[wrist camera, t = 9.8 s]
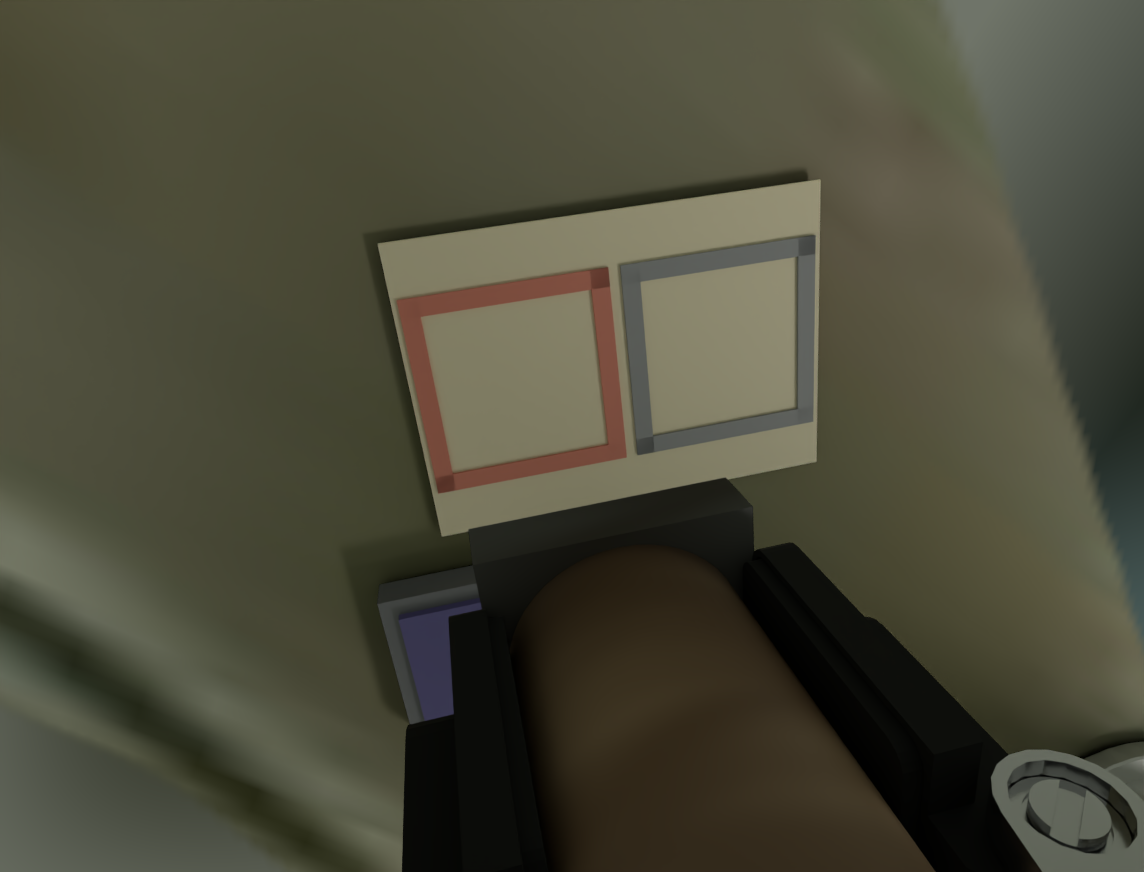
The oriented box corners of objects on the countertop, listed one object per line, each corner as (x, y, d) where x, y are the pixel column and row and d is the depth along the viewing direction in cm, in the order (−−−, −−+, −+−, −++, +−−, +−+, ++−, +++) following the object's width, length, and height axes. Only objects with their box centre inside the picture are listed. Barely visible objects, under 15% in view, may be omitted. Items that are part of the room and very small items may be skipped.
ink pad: (624, 534, 26) (635, 554, 25) (640, 681, 29) (650, 707, 28) (379, 584, 25) (376, 609, 24) (419, 733, 28) (418, 763, 27)
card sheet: (817, 179, 23) (822, 179, 23) (813, 459, 27) (817, 462, 27) (377, 242, 21) (377, 244, 21) (441, 533, 25) (442, 538, 25)
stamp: (726, 477, 11) (1415, 1218, 3) (733, 679, 13) (1216, 1499, 5) (468, 529, 10) (592, 1543, 3) (509, 733, 12) (662, 1747, 4)
